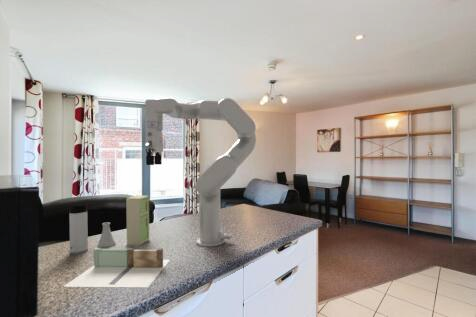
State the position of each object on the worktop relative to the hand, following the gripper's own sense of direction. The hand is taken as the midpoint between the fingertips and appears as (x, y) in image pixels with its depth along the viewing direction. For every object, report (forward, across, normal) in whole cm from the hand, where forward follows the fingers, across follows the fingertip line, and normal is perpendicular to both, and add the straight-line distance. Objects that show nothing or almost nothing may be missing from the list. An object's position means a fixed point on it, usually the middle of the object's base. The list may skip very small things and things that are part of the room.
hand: (154, 164), depth 112 cm
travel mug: (+36, -10, +28) cm, 47 cm away
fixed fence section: (+35, -25, -6) cm, 43 cm away
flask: (+36, -2, +21) cm, 42 cm away
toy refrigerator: (+36, +2, +8) cm, 37 cm away
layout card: (+36, -28, +1) cm, 46 cm away
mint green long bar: (+35, -24, +7) cm, 43 cm away
